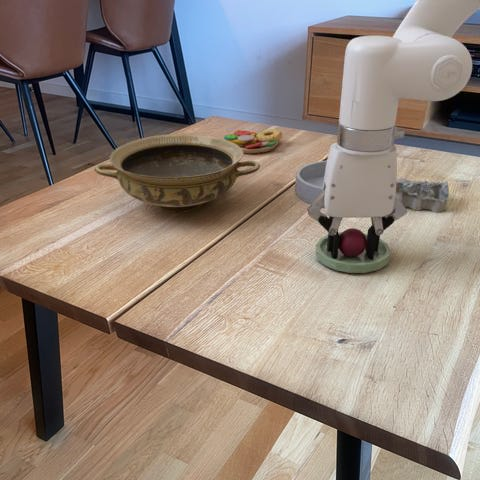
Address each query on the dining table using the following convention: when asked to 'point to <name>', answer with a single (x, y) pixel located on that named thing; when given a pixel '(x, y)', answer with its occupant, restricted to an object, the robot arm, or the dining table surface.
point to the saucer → (353, 258)
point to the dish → (310, 181)
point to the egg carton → (422, 194)
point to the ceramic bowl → (177, 169)
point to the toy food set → (255, 140)
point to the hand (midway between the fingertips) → (351, 254)
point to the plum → (352, 242)
